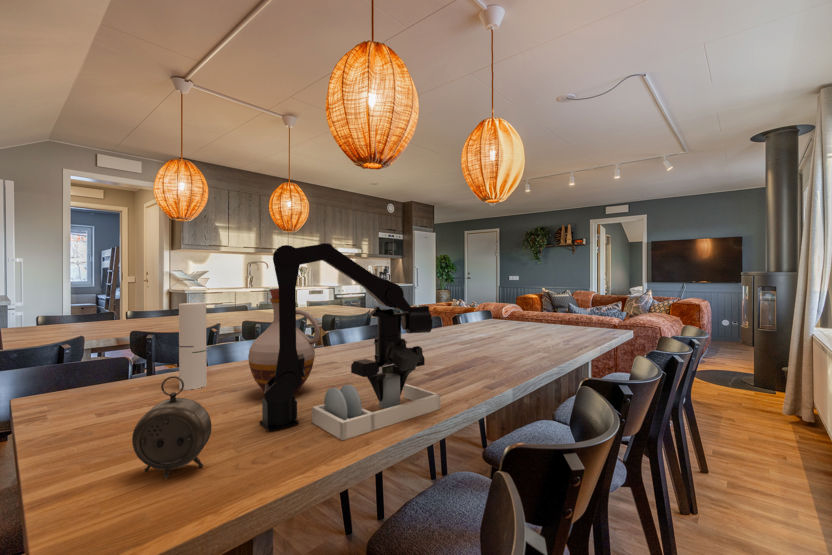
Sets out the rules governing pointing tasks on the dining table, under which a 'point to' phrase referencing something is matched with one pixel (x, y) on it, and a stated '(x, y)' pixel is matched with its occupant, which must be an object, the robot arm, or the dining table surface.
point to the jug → (267, 347)
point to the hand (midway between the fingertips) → (389, 398)
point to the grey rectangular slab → (391, 391)
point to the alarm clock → (172, 433)
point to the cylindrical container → (192, 345)
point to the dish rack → (352, 420)
